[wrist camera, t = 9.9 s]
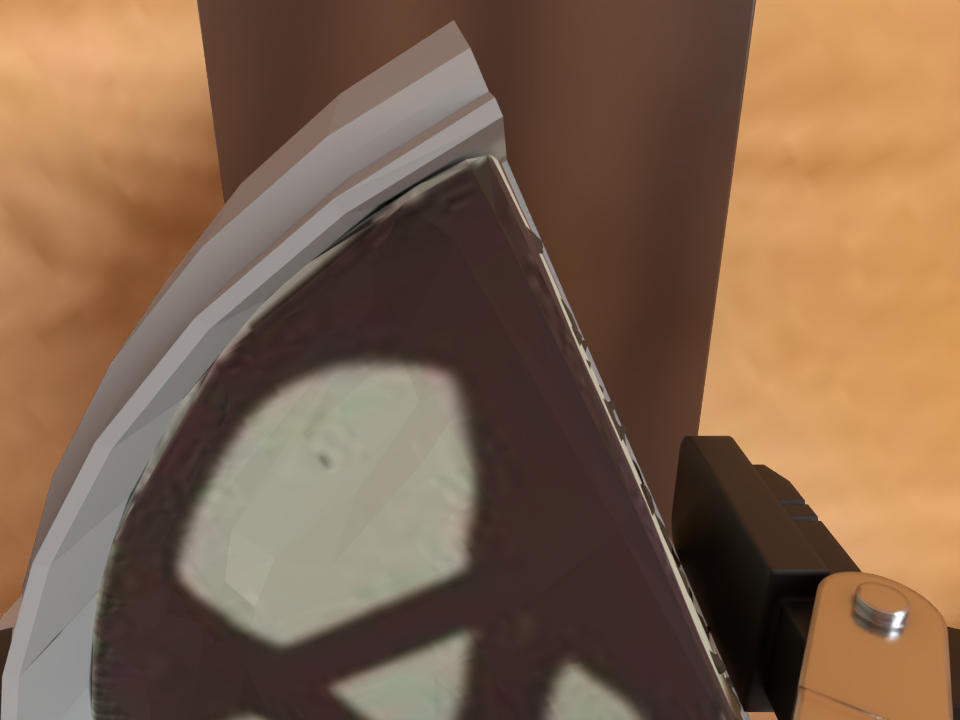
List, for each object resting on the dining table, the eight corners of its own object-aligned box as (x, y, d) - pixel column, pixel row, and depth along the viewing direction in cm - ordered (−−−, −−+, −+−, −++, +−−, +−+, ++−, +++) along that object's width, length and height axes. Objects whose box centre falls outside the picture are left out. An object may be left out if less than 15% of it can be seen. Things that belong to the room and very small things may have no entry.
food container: (174, 216, 13) (-615, 527, 4) (467, 67, 12) (441, -35, 3) (455, 666, 17) (431, 1362, 8) (689, 581, 16) (985, 1251, 7)
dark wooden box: (631, 32, 29) (759, -18, 16) (604, 399, 35) (679, 582, 22) (323, 32, 29) (193, -18, 16) (351, 399, 35) (275, 582, 22)
